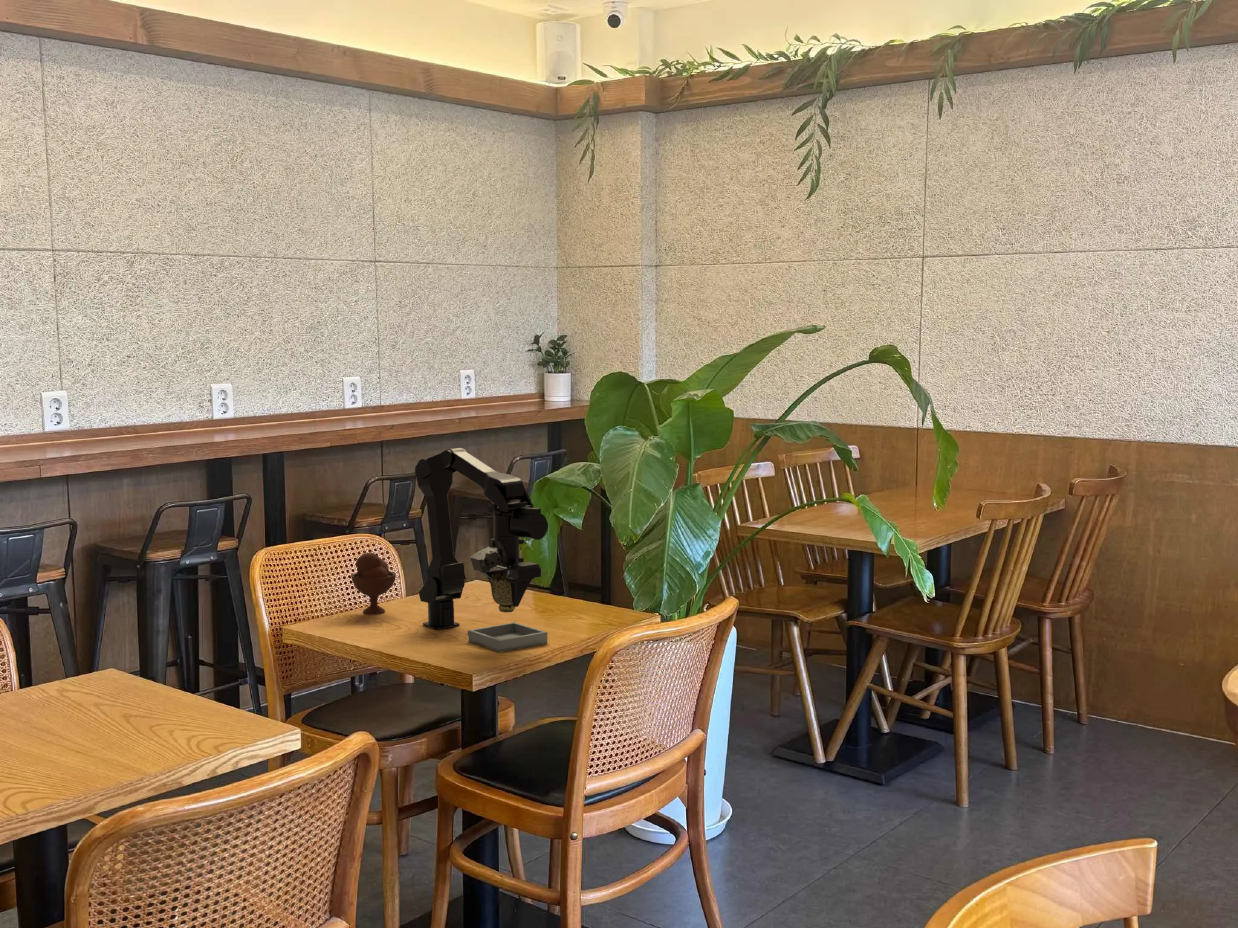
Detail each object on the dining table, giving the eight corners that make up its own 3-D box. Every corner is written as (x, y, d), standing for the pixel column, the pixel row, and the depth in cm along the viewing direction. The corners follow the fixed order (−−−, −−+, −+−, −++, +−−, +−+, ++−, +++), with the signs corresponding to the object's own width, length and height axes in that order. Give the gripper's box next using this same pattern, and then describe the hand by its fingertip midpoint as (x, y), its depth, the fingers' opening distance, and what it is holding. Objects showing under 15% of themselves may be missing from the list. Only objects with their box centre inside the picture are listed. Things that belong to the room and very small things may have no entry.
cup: (518, 615, 268) (518, 579, 268) (485, 614, 270) (485, 578, 269) (527, 608, 276) (527, 573, 275) (495, 606, 277) (495, 571, 276)
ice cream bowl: (392, 617, 298) (391, 556, 297) (346, 616, 298) (345, 555, 297) (400, 607, 309) (399, 548, 307) (356, 607, 309) (355, 548, 307)
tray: (468, 641, 274) (468, 630, 274) (514, 632, 282) (514, 622, 282) (500, 652, 265) (500, 640, 264) (547, 643, 273) (547, 631, 272)
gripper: (452, 532, 273) (453, 601, 275) (500, 544, 259) (500, 616, 260) (494, 528, 280) (494, 595, 282) (543, 538, 266) (543, 609, 268)
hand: (506, 604), depth 273 cm, fingers closed on cup, 6 cm apart
